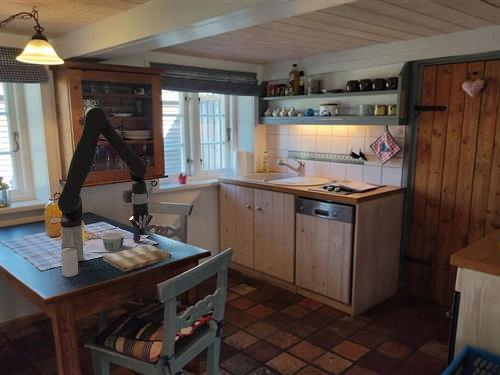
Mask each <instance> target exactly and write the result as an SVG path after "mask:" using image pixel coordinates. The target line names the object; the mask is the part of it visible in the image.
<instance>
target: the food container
mask: <svg viewBox="0 0 500 375" xmlns="http://www.w3.org/2000/svg"><path fill="white" fill-rule="evenodd" d="M125 236H126V234H125V233H123V232H119V231H118V232H116V231H114V232H107V233H104V234H102V235H101V237H100V238H101V239H102V243H103V247H104V249H105V250H106V249H107V251H117V250H120V248H121V249H123V246H124V241H125Z"/></svg>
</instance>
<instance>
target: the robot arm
mask: <svg viewBox="0 0 500 375" xmlns="http://www.w3.org/2000/svg"><path fill="white" fill-rule="evenodd" d="M101 135H102V137H103V138H104V139H105V141H106V142H107V143H108V145H109V146H110V148H111V149H112V150H113V152H114V153H115V154H116V156H117V157H118V158H119V159H120V160H121V161H122V162H123V163H124V164H125V165H126V166H127V167H128V169H129V175H130V180H131V189H132V204H131V205H132V206H131V208H132V216H131V217H130V218H128V222H129V223H130V224H131V225H132V227H133V226H134V227H136V228H138V234H139V235H140V237H142V236H144V235H145V228H146V227H148V226H149V224H150V222H151V221H152V219H153V215H151V214H149V204H148V203H149V201H148V200H149V199H147V192H148V190H147V183H146V181H145V176H146V174H147V172H148V168H147V166H146V164H144V162H143V161H142V160H141V158H139V157H138V156H137V155H136V153H135V152H134V150H133V149H132V147H131V146H130V145H129V144H128V143H127V142H126V141H125V139H124V138H123V137H122V136H121V135H120V134H119V133H118V132H117V130H115V127H114V126H113V125H112V124H111V122H110V121H109V119H108V117H107V113H106V111H105V110H104V109H103V108H102V107H100V106H96V105H95V106H90V107H88V108H87V110H85V114H84V123H83V128H82V133H81V135H80V138H79V140H78V141H77V143H76V146H75V148H74V150H73V153H72V156H71V159H70V163H69V167H68V172H67V174H66V179H65V183H64V186H63V189H62V191H61V193H60V195H59V198H58V200H57V208H58V209H59V211H60V212H61V218H60V233H61V234H60V235H61V243H60V250H61V251H62V248H64V247H69V246H73V247H76V250H77V260H78V262H80V261H83V260H84V258H85V256H84V240H83V238H84V237H83V223H82V221H83V200H82V197H81V191H82V189H83V188H82V187H83V185H84V184H85V182H86V180H87V178H88V176H89V174H90V171H91V169H92V167H93V163H94V160H95V157H96V152H97V148H98V142H99V139H100V136H101ZM134 219H135V220H136V223H137V224H136V223H135V222H134V221H135V220H134ZM61 251H60V252H61Z"/></svg>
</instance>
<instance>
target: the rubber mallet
mask: <svg viewBox="0 0 500 375" xmlns="http://www.w3.org/2000/svg"><path fill="white" fill-rule="evenodd" d="M148 198H149V192H148V191H147V199H148ZM148 200H149V199H148ZM122 201H123V202H124V203H126V204H129V203H132V188H131V189H130V188H129V189H126V190H123V191H122ZM134 220H135V219H134ZM134 222H135V223H136V220H135V221H134ZM136 224H137V223H136ZM132 228H133V237H132V240H133V242H134V243H139V242H140V240H141V235H139V234H138V228H136V227H134V226H133V225H132ZM138 241H139V242H138Z"/></svg>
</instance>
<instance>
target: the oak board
mask: <svg viewBox="0 0 500 375" xmlns="http://www.w3.org/2000/svg"><path fill="white" fill-rule="evenodd" d="M159 249H160V250H156V251H152V252H149V253H145V254H141V255H137V256H133V257H130V258H126V259H122V260H118V261H114V262H113V265H112V266H113V267H115V268H116V269H118V270H120V271H121V272H125V273H126V272H129V271H133V270H136V269H138V268H142V267H146V266H150V265H153V264H156V263H160V262H164V261H167V260H170V259H171V260H172V258H173V253H170V252H168V251H165V250H163V249H161V248H159Z"/></svg>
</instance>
